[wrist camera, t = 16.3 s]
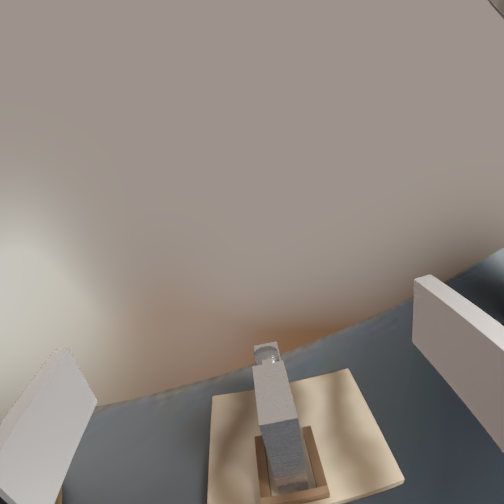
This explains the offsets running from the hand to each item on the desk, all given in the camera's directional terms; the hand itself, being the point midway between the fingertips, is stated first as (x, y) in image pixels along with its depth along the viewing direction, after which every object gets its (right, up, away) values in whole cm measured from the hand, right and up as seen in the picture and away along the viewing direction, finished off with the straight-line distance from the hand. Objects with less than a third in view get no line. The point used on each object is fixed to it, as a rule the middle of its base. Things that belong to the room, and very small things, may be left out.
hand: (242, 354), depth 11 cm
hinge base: (+5, -19, +22) cm, 30 cm away
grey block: (+4, -19, +20) cm, 28 cm away
